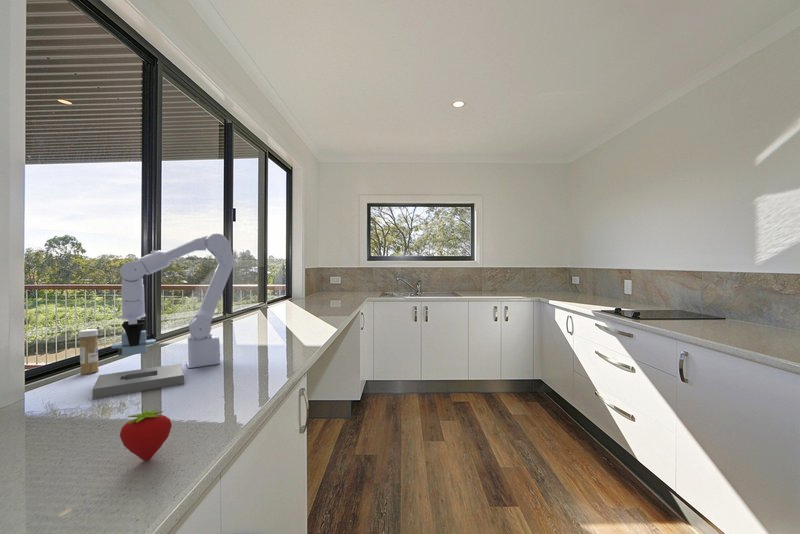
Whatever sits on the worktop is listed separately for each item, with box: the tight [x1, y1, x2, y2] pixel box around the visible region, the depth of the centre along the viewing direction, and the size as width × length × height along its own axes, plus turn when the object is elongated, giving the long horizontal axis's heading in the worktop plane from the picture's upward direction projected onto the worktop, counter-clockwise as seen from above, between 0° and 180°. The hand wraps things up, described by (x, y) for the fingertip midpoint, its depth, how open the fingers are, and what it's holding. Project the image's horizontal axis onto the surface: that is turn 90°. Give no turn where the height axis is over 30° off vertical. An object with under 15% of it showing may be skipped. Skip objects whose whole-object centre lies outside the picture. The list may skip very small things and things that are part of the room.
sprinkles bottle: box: [78, 328, 100, 375], centre depth 117 cm, size 5×5×14 cm
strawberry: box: [119, 404, 173, 462], centre depth 65 cm, size 6×8×10 cm
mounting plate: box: [92, 363, 185, 399], centre depth 105 cm, size 20×14×2 cm
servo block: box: [111, 329, 156, 357], centre depth 116 cm, size 11×4×7 cm, turn 123°
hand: (134, 344), depth 116 cm, fingers closed on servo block, 4 cm apart
